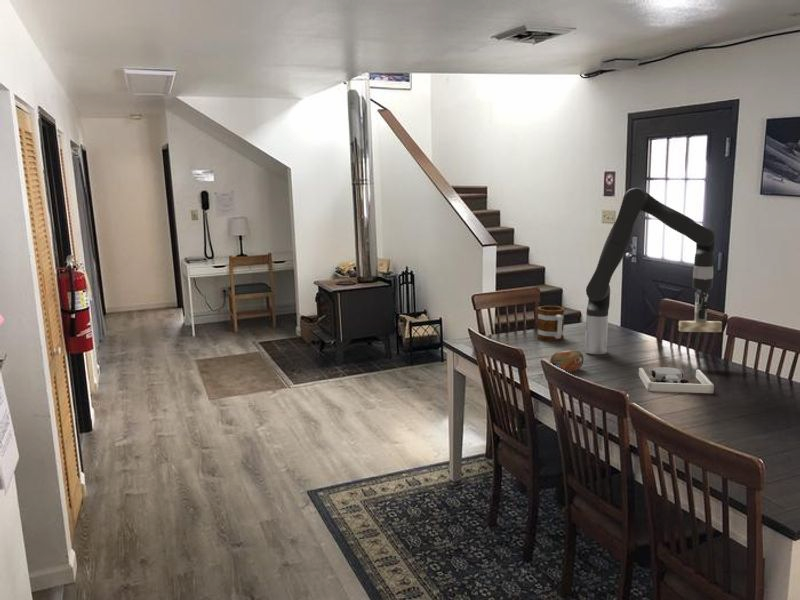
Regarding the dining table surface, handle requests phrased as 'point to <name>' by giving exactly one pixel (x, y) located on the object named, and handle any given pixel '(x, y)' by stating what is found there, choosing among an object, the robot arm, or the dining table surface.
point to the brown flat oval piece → (567, 360)
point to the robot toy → (668, 375)
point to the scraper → (700, 323)
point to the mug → (550, 323)
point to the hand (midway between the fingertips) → (700, 317)
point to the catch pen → (678, 384)
